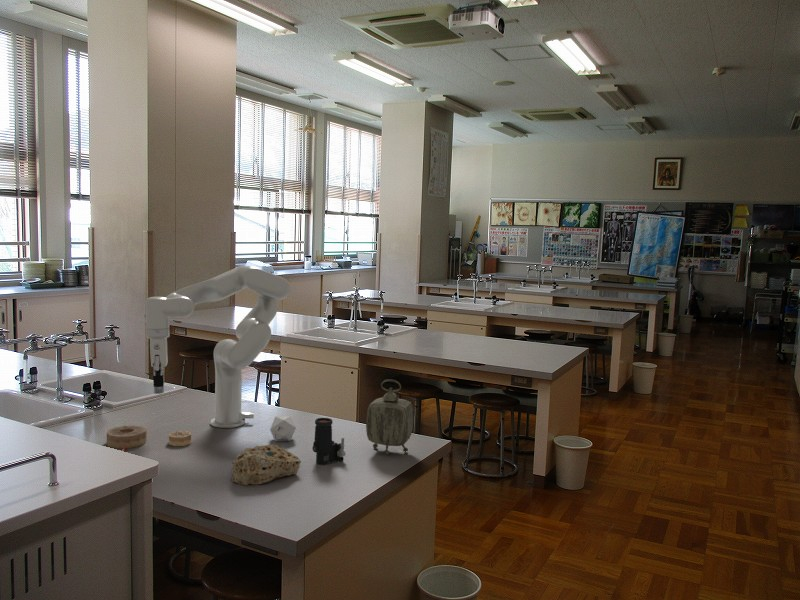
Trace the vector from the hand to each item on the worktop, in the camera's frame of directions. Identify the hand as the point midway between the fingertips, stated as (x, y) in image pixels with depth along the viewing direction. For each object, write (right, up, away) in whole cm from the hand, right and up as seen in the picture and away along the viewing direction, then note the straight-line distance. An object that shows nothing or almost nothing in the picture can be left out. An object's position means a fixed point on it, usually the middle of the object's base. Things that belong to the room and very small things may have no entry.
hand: (159, 384), depth 223 cm
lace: (-5, -19, -18) cm, 27 cm away
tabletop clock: (+79, -22, -7) cm, 83 cm away
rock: (+43, -23, -32) cm, 59 cm away
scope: (+60, -22, -18) cm, 66 cm away
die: (+42, -20, +2) cm, 47 cm away
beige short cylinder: (+9, -19, -6) cm, 22 cm away
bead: (-8, -18, -8) cm, 21 cm away
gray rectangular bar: (0, -3, 0) cm, 3 cm away
